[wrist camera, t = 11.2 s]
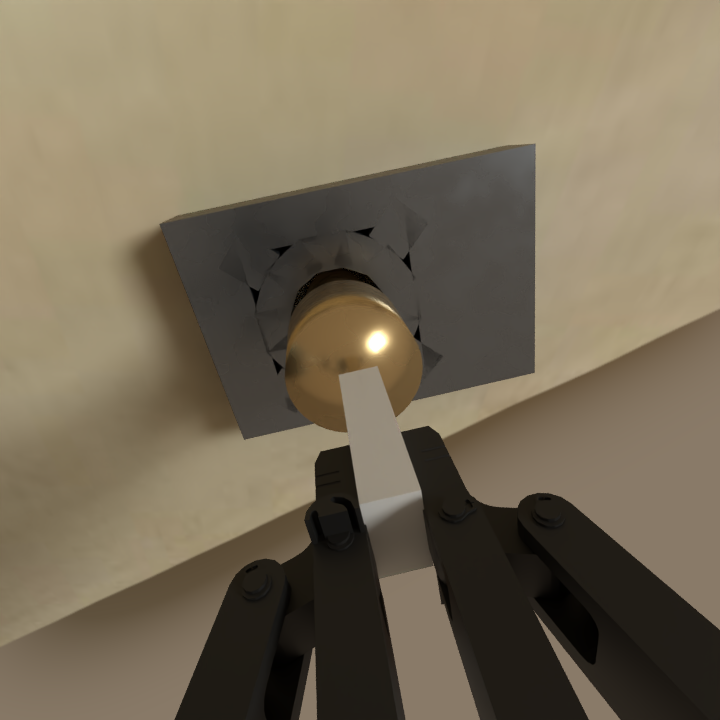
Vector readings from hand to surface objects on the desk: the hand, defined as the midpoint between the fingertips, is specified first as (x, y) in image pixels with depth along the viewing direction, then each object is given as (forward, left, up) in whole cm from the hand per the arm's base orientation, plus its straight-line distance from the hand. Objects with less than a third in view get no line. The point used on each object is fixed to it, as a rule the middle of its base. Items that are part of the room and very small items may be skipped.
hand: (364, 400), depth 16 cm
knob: (0, 0, -13) cm, 13 cm away
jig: (+2, 0, -13) cm, 13 cm away
